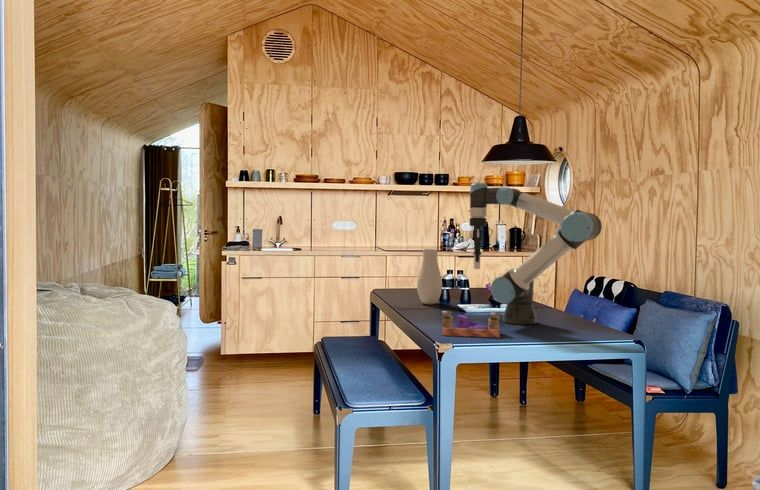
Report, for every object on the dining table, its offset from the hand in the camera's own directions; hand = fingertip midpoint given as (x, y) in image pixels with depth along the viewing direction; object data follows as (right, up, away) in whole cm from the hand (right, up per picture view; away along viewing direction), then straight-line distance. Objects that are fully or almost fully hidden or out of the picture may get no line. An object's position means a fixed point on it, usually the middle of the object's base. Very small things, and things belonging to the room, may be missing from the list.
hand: (477, 268), depth 280 cm
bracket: (-5, -26, -21) cm, 34 cm away
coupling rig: (-7, -26, -27) cm, 38 cm away
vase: (-17, -22, +55) cm, 62 cm away
